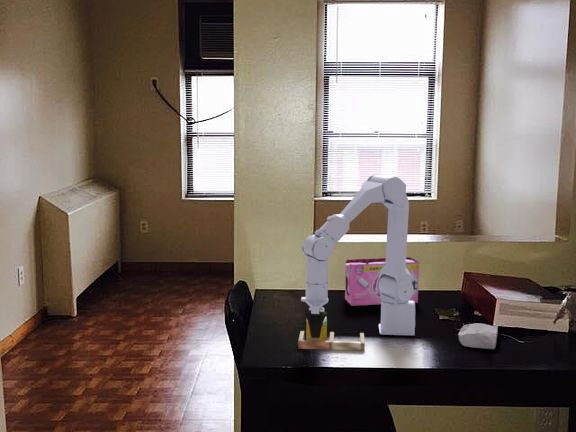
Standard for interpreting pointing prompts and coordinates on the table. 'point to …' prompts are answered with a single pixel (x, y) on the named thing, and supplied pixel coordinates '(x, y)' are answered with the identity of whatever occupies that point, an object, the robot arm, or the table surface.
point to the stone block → (478, 336)
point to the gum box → (372, 280)
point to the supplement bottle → (323, 331)
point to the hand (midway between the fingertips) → (316, 332)
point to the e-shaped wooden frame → (331, 343)
